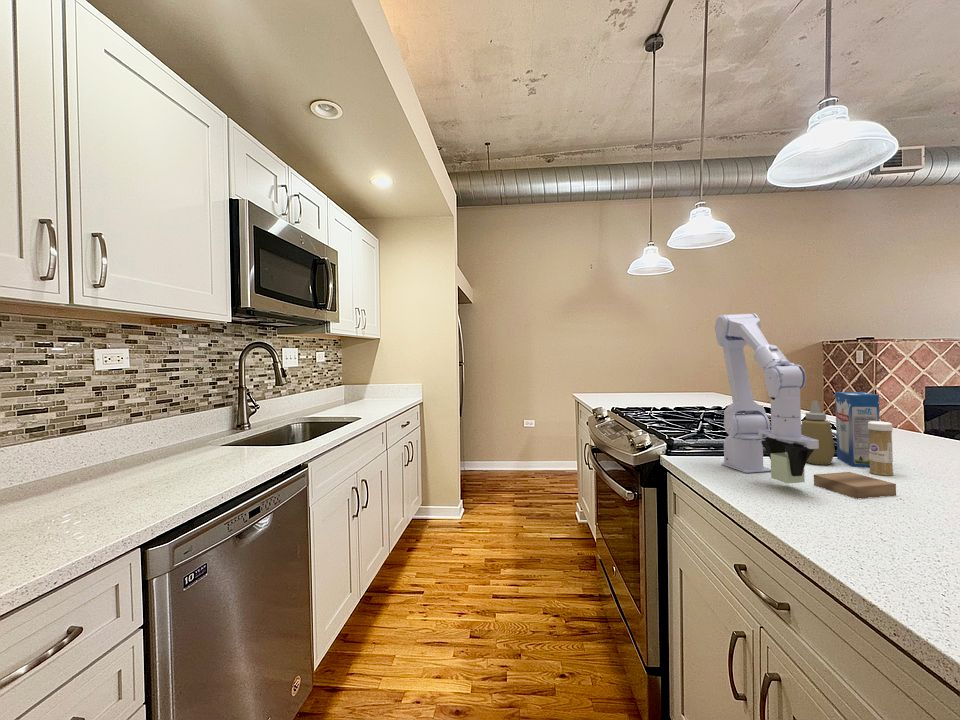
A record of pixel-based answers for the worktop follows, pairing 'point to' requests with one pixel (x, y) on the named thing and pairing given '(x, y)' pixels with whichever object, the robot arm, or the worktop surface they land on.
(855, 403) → the milk carton
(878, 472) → the sprinkles bottle
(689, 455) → the worktop surface
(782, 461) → the sage block
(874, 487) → the walnut block
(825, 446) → the squeeze bottle
